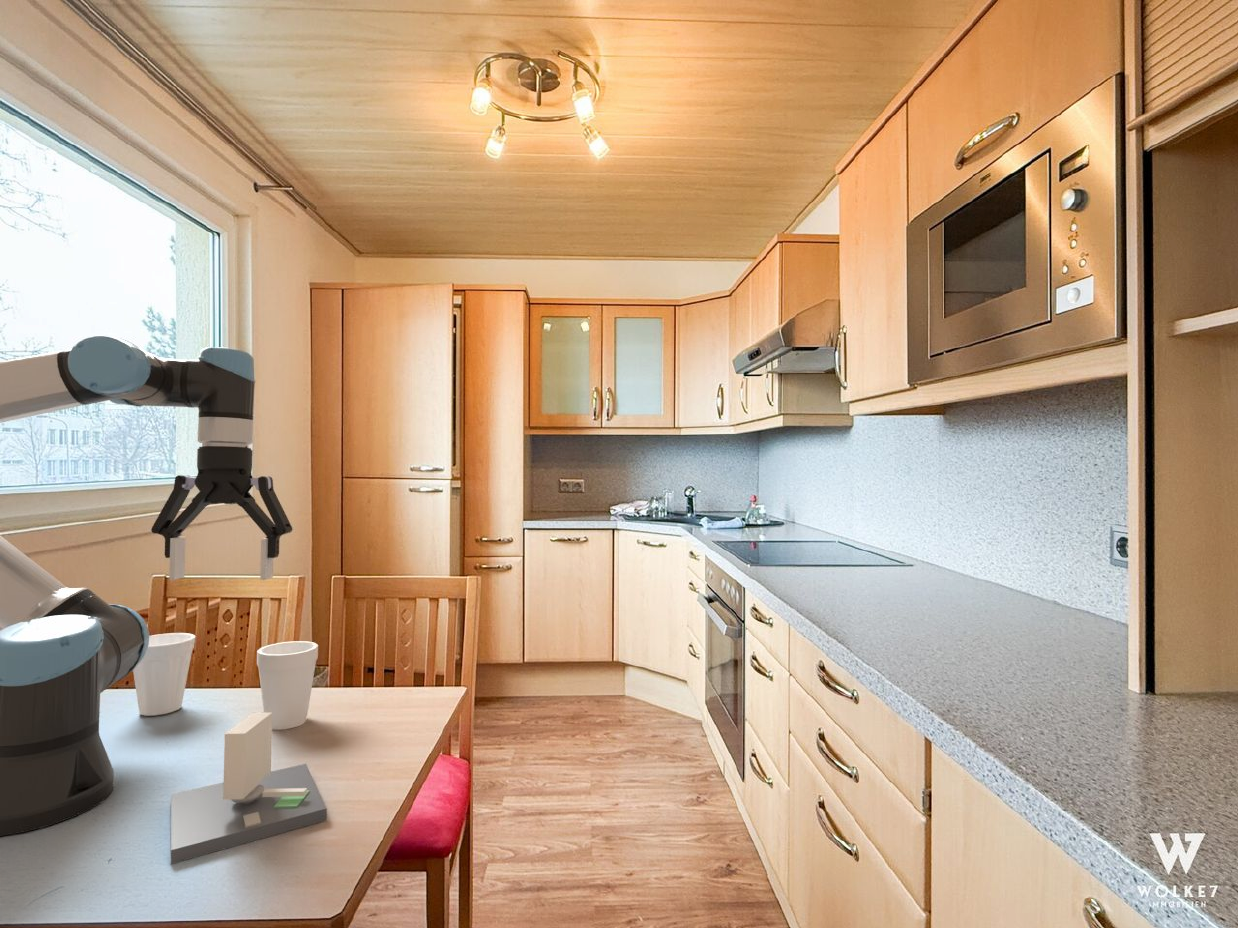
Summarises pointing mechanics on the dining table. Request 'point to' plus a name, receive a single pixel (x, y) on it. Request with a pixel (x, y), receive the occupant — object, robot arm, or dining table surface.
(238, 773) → the cream angular block
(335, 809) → the dining table surface
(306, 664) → the foam cup
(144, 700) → the cup
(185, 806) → the base
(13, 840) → the dining table surface
